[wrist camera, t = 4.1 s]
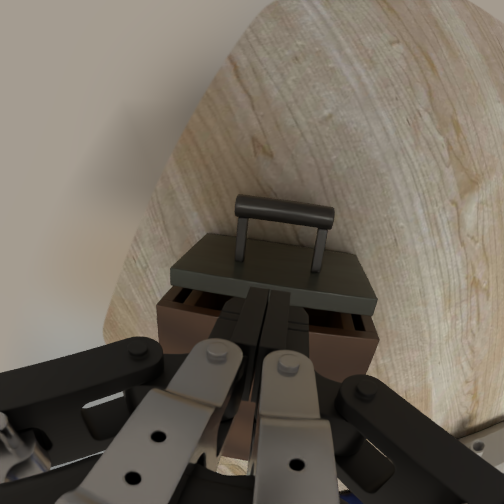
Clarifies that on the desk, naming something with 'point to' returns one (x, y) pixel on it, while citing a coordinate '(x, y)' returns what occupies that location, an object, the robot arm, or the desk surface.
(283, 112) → the desk surface
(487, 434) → the tank
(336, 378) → the cabinet
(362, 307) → the drawer
